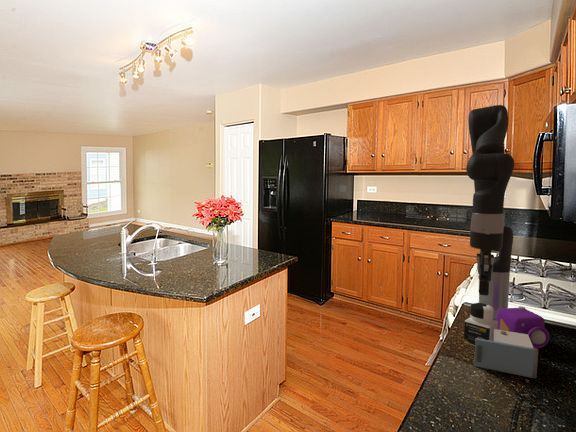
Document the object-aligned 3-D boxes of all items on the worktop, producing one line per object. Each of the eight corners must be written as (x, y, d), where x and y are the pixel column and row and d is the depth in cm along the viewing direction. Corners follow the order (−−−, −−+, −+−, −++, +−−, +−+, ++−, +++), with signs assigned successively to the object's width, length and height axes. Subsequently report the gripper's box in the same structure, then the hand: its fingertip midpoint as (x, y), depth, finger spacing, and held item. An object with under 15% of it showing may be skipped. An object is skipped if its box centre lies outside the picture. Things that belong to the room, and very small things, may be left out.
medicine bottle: (463, 342, 105) (464, 304, 103) (472, 335, 109) (474, 299, 108) (488, 351, 99) (490, 311, 98) (497, 343, 104) (499, 305, 103)
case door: (474, 363, 92) (475, 337, 91) (535, 376, 85) (537, 348, 85) (474, 367, 90) (475, 340, 89) (537, 380, 84) (539, 351, 83)
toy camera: (530, 357, 95) (532, 323, 94) (489, 336, 109) (491, 306, 108) (559, 352, 98) (561, 318, 97) (516, 332, 111) (518, 302, 110)
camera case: (492, 352, 98) (494, 327, 98) (529, 359, 94) (531, 333, 94) (495, 369, 90) (497, 341, 89) (536, 377, 86) (538, 348, 85)
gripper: (470, 226, 98) (467, 285, 99) (471, 232, 86) (467, 299, 87) (500, 227, 94) (497, 289, 96) (506, 234, 82) (502, 304, 84)
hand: (483, 294), depth 92 cm, fingers closed
